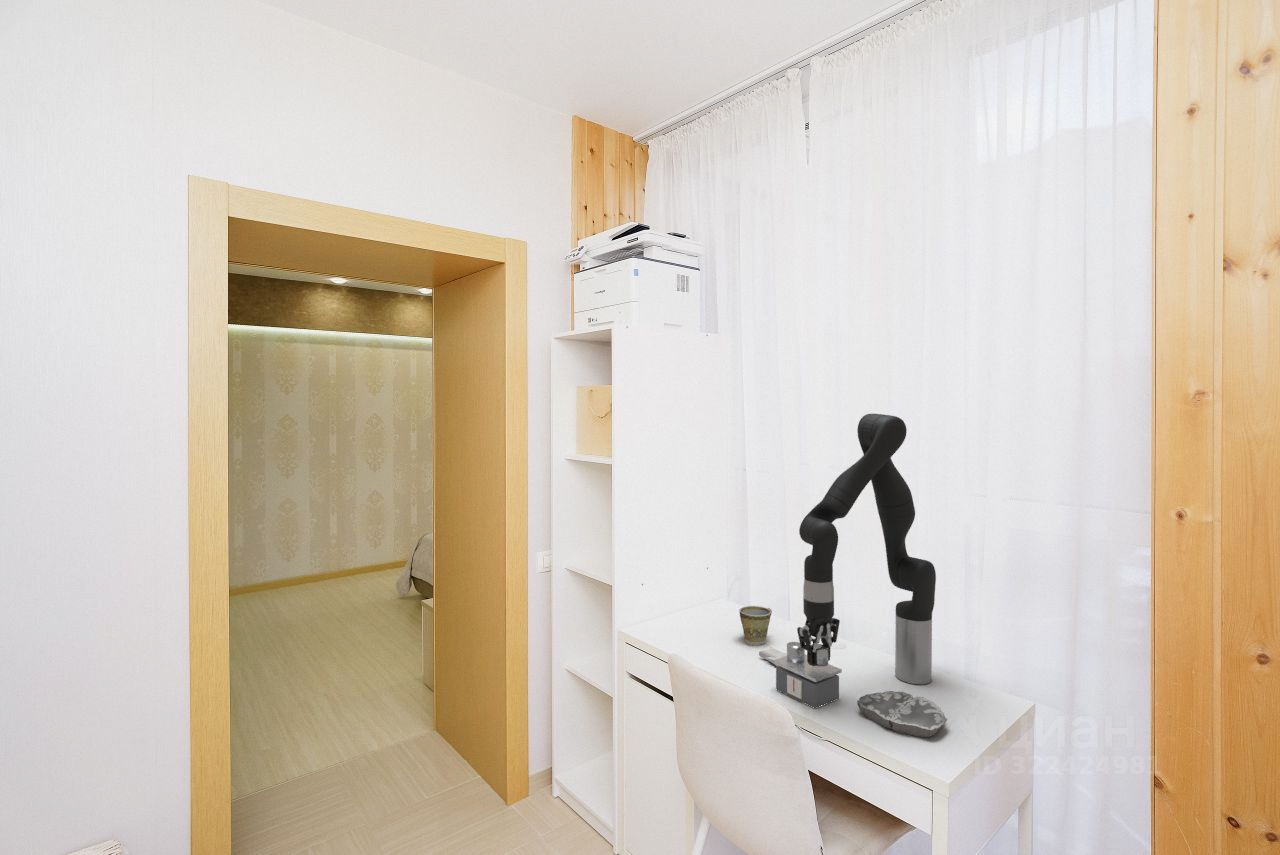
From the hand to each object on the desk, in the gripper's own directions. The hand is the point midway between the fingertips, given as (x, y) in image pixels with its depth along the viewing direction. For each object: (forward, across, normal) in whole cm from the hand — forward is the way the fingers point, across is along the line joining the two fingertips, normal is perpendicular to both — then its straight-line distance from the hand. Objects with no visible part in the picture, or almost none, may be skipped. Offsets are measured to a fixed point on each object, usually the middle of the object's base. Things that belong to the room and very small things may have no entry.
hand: (819, 662), depth 160 cm
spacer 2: (0, 0, 0) cm, 0 cm away
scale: (+10, 0, +4) cm, 10 cm away
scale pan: (+3, 0, +4) cm, 5 cm away
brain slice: (+10, +9, -18) cm, 22 cm away
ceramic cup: (+10, +16, +38) cm, 43 cm away
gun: (+10, +8, +18) cm, 23 cm away
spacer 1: (+2, 0, +8) cm, 8 cm away
